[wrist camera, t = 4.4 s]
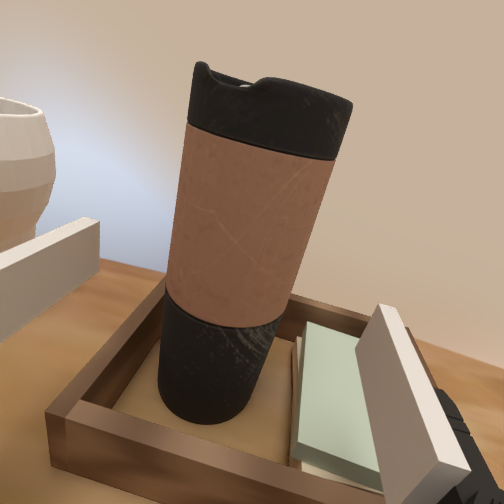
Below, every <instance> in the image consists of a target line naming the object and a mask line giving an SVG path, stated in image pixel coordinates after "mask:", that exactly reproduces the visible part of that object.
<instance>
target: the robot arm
mask: <svg viewBox="0 0 504 504" xmlns="http://www.w3.org/2000/svg"><path fill="white" fill-rule="evenodd" d="M99 229H100V221H97V220H94V219H90V218H87V217H83V218H80V219H78V220H76V221H73V222H71V223H69V224H66V225H64V226H62V227H59V228H58V229H55V230H53V231H50V232H48V233H46V234H43V235H41V236H39V237H37V238H34V239H32V240H30V241H27V242H25V243H23V244H21V245H18V246H16V247H14V248H11V249H9V250H7V251H4V252H2V253H0V344H1V343H2V342H3V341H5V340H6V339H8V338H9V337H10V336H12V335H13V334H14V333H16V332H17V331H19V330H20V329H21V328H23V327H24V326H25V325H27V324H28V323H29V322H31V321H32V320H34V319H35V318H36V317H38V316H39V315H40V314H42V313H43V312H45V311H46V310H47V309H49V308H50V307H51V306H53V305H54V304H55V303H57V302H58V301H60V300H61V299H62V298H64V297H65V296H66V295H68V294H69V293H71V292H72V291H73V290H75V289H76V288H77V287H79V286H80V285H81V284H83V283H84V282H86V281H87V280H88V279H90V278H91V277H92V276H94V275H95V274H97V273H98V272H99V246H100V245H99V241H100V240H99V238H100V230H99ZM355 353H356V358H357V363H358V368H359V373H360V378H361V383H362V388H363V393H364V398H365V403H366V408H367V412H368V417H369V422H370V427H371V432H372V437H373V442H374V447H375V452H376V457H377V462H378V467H379V472H380V477H381V481H382V486H383V491H384V496H385V501H386V504H504V491H503V490H501V489H499V487H498V486H497V484H496V482H495V480H494V478H493V476H492V474H491V472H490V470H489V468H488V466H487V464H486V462H485V460H484V459H483V457H482V455H481V453H480V451H479V449H478V447H477V445H476V443H475V441H474V439H473V437H472V436H470V431H469V430H468V428H467V426H466V424H465V423H464V422H463V421H464V420H463V418H462V416H461V414H460V412H459V410H458V408H457V406H456V405H455V403H454V402H453V401H452V400H451V399H450V398H449V396H448V395H447V394H446V393H445V392H444V391H443V390H442V389H438V388H435V387H432V385H431V383H430V381H429V379H428V377H427V374H426V372H425V370H424V368H423V366H422V364H421V361H420V359H419V357H418V355H417V353H416V351H415V349H414V346H413V344H412V342H411V340H410V338H409V336H408V333H407V331H406V329H405V327H404V325H403V323H402V321H401V318H400V316H399V314H398V312H397V310H396V308H394V307H390V306H387V305H383V304H380V303H378V305H377V307H376V309H375V311H374V313H373V315H372V317H371V318H370V320H369V322H368V324H367V326H366V328H365V330H364V332H363V334H362V336H361V338H360V340H359V341H358V343H357V345H356V347H355Z"/></svg>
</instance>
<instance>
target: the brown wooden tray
mask: <svg viewBox="0 0 504 504" xmlns="http://www.w3.org/2000/svg"><path fill="white" fill-rule="evenodd" d="M165 284H166V276H165V277H164V278H163V279H162V280H161V281H160V283H159V284H158V285H157V286H156V287H155V288H154V289H153V290H152V291H151V293H150V294H149V295H148V296H147V297H146V298H145V299H144V300H143V302H142V303H141V304H140V305H139V306H138V307H137V308H136V309H135V311H134V312H133V313H132V314H131V315H130V316H129V317H128V318H127V320H126V321H125V322H124V323H123V324H122V325H121V326H120V327H119V328H118V330H117V331H116V332H115V333H114V334H113V335H112V336H111V337H110V339H109V340H108V341H107V342H106V343H105V344H104V345H103V346H102V348H101V349H100V350H99V351H98V352H97V353H96V354H95V355H94V357H93V358H92V359H91V360H90V361H89V362H88V363H87V364H86V365H85V367H84V368H83V369H82V370H81V371H80V372H79V373H78V374H77V376H76V377H75V378H74V379H73V380H72V381H71V382H70V383H69V385H68V386H67V387H66V388H65V389H64V390H63V391H62V392H61V394H60V395H59V396H58V397H57V398H56V399H55V400H54V401H53V403H52V404H51V405H50V406H49V407H48V408H47V409H46V410H45V419H46V427H47V435H48V444H49V452H50V460H51V466H53V467H56V468H59V469H62V470H65V471H68V472H71V473H74V474H77V475H80V476H83V477H85V478H88V479H91V480H94V481H97V482H100V483H103V484H106V485H109V486H112V487H115V488H118V489H121V490H124V491H127V492H130V493H133V494H136V495H139V496H142V497H145V498H148V499H151V500H154V501H157V502H160V503H163V504H386V501H385V498H384V497H381V496H378V495H375V494H371V493H368V492H365V491H362V490H359V489H356V488H353V487H350V486H347V485H344V484H341V483H337V482H334V481H331V480H328V479H325V478H322V477H319V476H316V475H313V474H310V473H306V472H303V471H300V470H297V469H294V468H291V467H288V466H285V465H282V464H279V463H275V462H272V461H269V460H266V459H263V458H260V457H257V456H254V455H251V454H248V453H244V452H241V451H238V450H235V449H232V448H229V447H226V446H223V445H220V444H217V443H214V442H210V441H207V440H204V439H201V438H198V437H195V436H192V435H189V434H186V433H183V432H179V431H176V430H173V429H170V428H167V427H164V426H161V425H158V424H155V423H152V422H148V421H145V420H142V419H139V418H136V417H133V416H130V415H127V414H124V413H121V412H117V411H114V410H111V408H112V407H113V405H114V404H115V402H116V401H117V399H118V398H119V396H120V395H121V393H122V392H123V390H124V389H125V388H126V386H127V385H128V383H129V382H130V380H131V379H132V377H133V376H134V374H135V373H136V371H137V370H138V368H139V367H140V365H141V364H142V362H143V361H144V359H145V358H146V356H147V355H148V353H149V352H150V350H151V349H152V347H153V346H154V344H155V343H156V341H157V340H158V338H159V337H160V335H161V332H162V320H163V307H164V295H165ZM370 318H371V317H370V316H367V315H363V314H360V313H357V312H353V311H350V310H346V309H343V308H339V307H335V306H333V305H329V304H326V303H322V302H319V301H315V300H312V299H308V298H305V297H302V296H298V295H295V294H290V297H289V300H288V303H287V306H286V308H285V311H284V313H283V316H282V319H281V321H280V324H279V326H278V329H277V331H276V334H275V336H276V337H280V338H283V339H286V340H290V341H293V342H295V340H296V337H297V336H298V337H301V338H302V333H303V330H304V328H305V325H306V323H307V321H308V322H311V323H314V324H317V325H320V326H323V327H326V328H329V329H332V330H335V331H338V332H341V333H344V334H347V335H350V336H353V337H356V338H359V339H360V338H361V336H362V334H363V332H364V330H365V328H366V326H367V324H368V322H369V320H370ZM405 329H406V331H407V333H408V336H409V338H410V340H411V342H412V344H413V346H414V349H415V351H416V353H417V355H418V357H419V359H420V361H421V364H422V366H423V368H424V370H425V372H426V374H427V377H428V379H429V381H430V383H431V385H432V387H435V388H438V387H437V385H436V383H435V381H434V379H433V377H432V375H431V373H430V370H429V368H428V366H427V364H426V362H425V360H424V358H423V356H422V354H421V352H420V350H419V348H418V346H417V344H416V342H415V340H414V338H413V336H412V334H411V332H410V330H409V328H408V327H405Z"/></svg>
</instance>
